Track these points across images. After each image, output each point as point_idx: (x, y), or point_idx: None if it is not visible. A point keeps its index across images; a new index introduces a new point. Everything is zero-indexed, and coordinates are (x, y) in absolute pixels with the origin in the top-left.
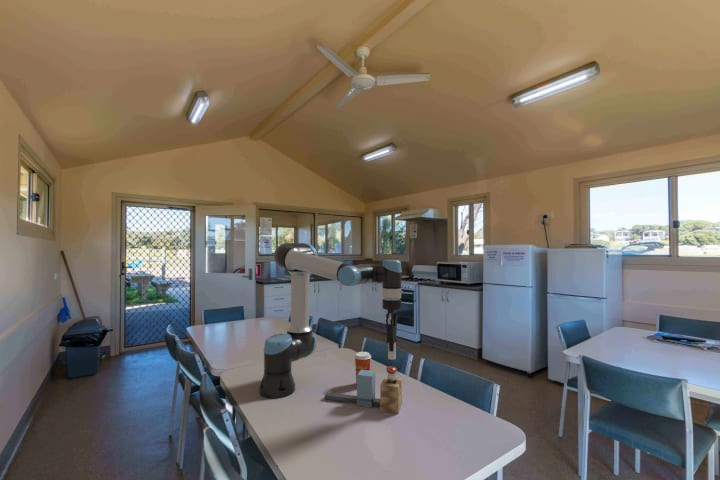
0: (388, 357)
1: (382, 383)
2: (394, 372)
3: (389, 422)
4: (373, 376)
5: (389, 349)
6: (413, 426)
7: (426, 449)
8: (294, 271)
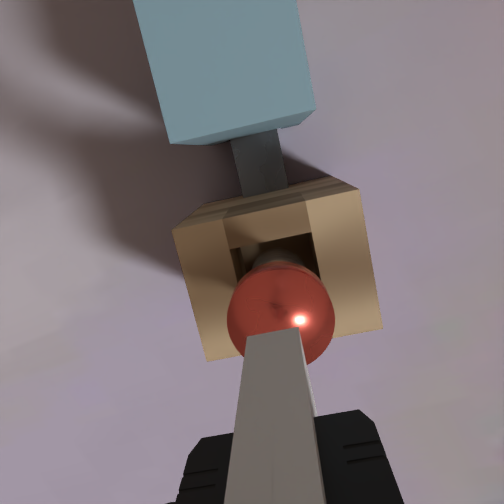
0: (245, 351)
1: (205, 233)
2: None
3: (126, 289)
4: (238, 129)
5: (188, 466)
6: (153, 393)
7: (27, 477)
8: None
